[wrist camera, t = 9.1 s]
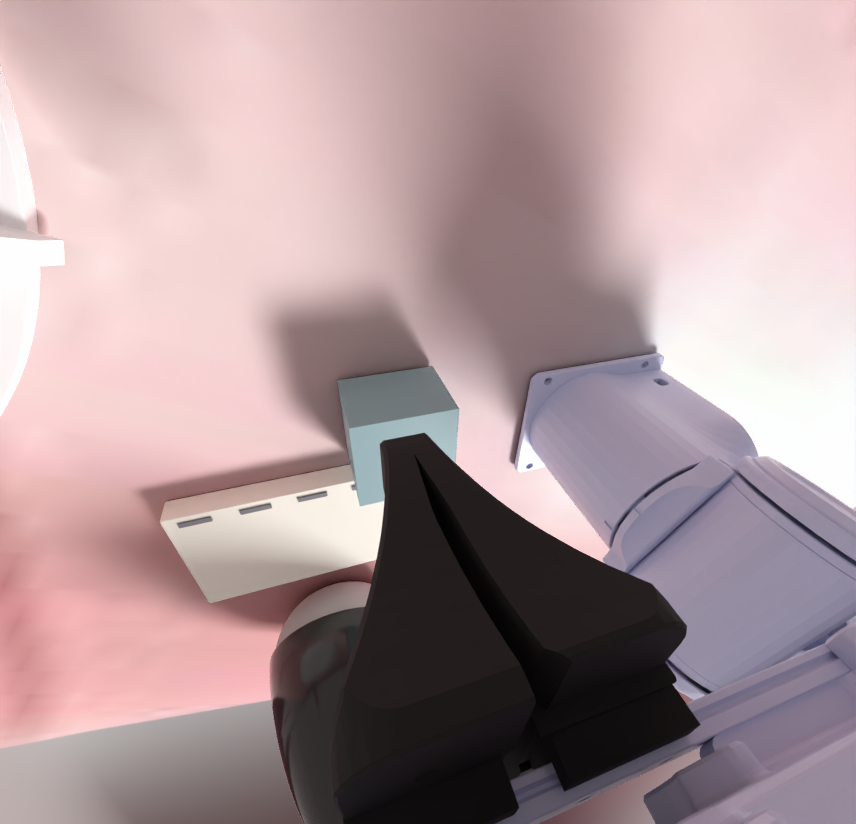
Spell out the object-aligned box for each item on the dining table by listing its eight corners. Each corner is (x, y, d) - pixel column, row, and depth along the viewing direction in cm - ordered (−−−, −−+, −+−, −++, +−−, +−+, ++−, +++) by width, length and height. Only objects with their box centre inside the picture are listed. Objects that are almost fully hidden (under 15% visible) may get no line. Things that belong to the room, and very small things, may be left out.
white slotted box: (432, 447, 25) (440, 463, 24) (430, 528, 30) (437, 544, 29) (165, 501, 21) (159, 523, 20) (212, 583, 26) (209, 605, 25)
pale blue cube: (432, 366, 21) (459, 408, 18) (431, 438, 24) (454, 484, 21) (337, 380, 20) (348, 428, 17) (348, 454, 23) (359, 506, 20)
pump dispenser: (242, 595, 28) (221, 942, 16) (386, 543, 29) (460, 827, 18) (295, 652, 34) (307, 929, 23) (411, 606, 36) (477, 845, 24)
